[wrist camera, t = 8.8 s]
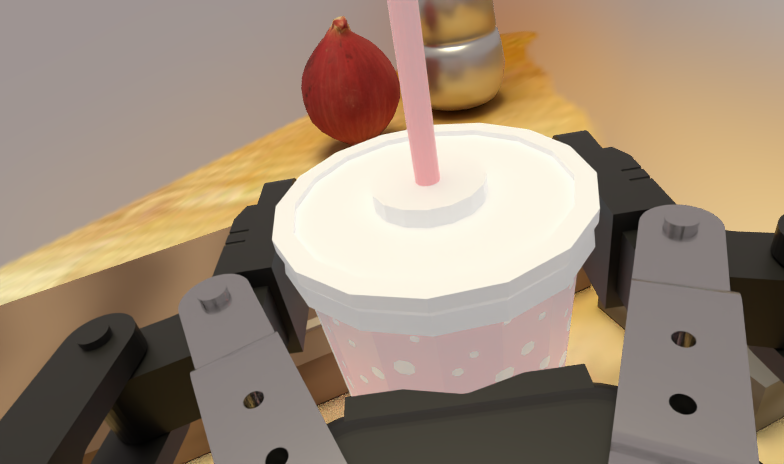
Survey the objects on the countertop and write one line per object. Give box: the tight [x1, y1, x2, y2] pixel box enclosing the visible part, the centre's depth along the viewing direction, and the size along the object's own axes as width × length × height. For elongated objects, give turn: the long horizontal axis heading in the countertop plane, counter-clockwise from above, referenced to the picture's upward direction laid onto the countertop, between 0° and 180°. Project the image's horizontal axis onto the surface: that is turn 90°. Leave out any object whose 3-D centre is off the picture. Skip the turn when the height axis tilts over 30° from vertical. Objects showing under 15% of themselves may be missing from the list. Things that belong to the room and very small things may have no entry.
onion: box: [301, 16, 400, 146], centre depth 31 cm, size 6×6×8 cm
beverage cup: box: [272, 0, 600, 396], centre depth 11 cm, size 6×6×14 cm
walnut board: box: [0, 226, 784, 464], centre depth 18 cm, size 24×17×2 cm
